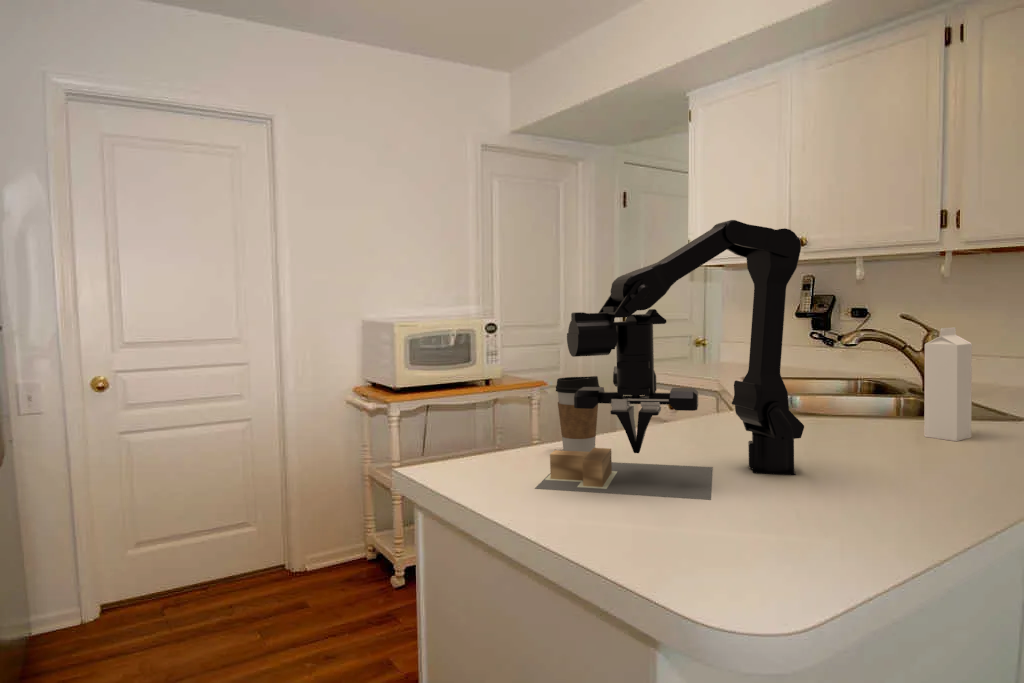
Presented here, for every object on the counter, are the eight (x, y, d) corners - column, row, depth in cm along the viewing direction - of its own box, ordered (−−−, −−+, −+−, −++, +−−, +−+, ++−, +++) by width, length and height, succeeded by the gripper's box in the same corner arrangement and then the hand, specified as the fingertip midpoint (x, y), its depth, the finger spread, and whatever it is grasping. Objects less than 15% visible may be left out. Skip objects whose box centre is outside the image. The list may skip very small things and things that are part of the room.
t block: (611, 472, 107) (611, 448, 107) (602, 486, 98) (601, 461, 98) (559, 469, 110) (558, 446, 109) (545, 483, 101) (545, 458, 101)
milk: (924, 437, 129) (923, 328, 128) (939, 433, 132) (938, 327, 131) (957, 441, 124) (957, 328, 123) (972, 437, 127) (972, 327, 126)
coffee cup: (587, 461, 116) (585, 379, 116) (548, 456, 122) (546, 377, 121) (609, 452, 123) (607, 375, 122) (572, 447, 128) (570, 373, 127)
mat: (712, 469, 108) (712, 466, 108) (710, 502, 90) (710, 499, 90) (563, 462, 117) (563, 459, 117) (534, 491, 99) (534, 488, 99)
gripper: (698, 349, 105) (700, 444, 105) (586, 350, 111) (588, 440, 111) (696, 355, 94) (697, 459, 95) (572, 355, 100) (574, 454, 101)
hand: (636, 452), depth 101 cm, fingers closed
